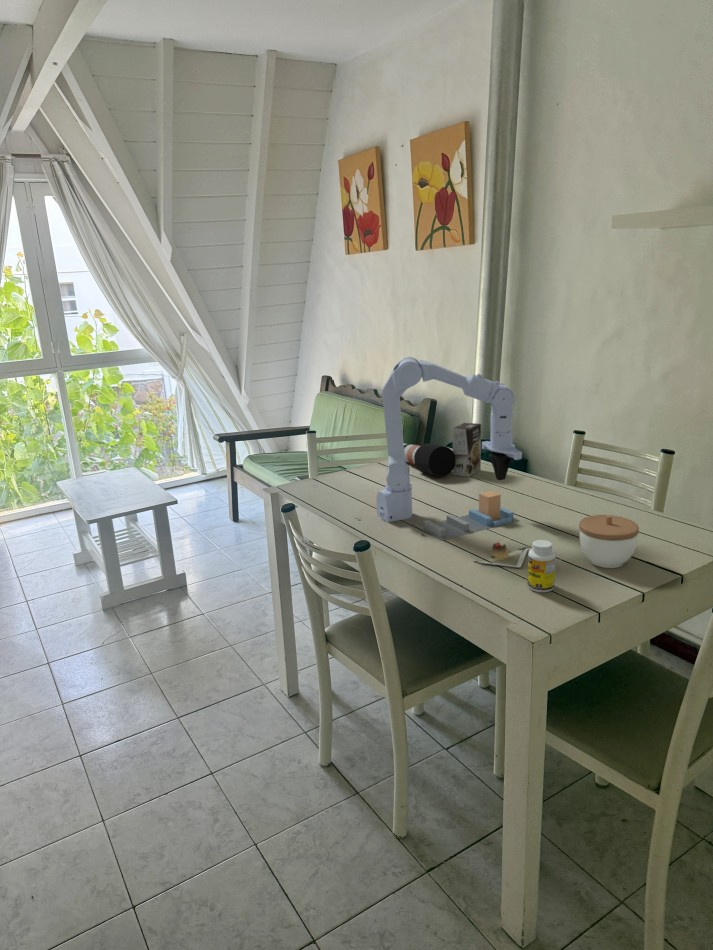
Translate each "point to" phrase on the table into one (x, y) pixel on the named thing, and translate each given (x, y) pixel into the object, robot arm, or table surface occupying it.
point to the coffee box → (467, 449)
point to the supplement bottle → (541, 566)
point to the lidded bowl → (608, 539)
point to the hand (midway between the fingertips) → (500, 479)
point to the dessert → (504, 554)
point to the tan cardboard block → (490, 504)
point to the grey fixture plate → (466, 524)
